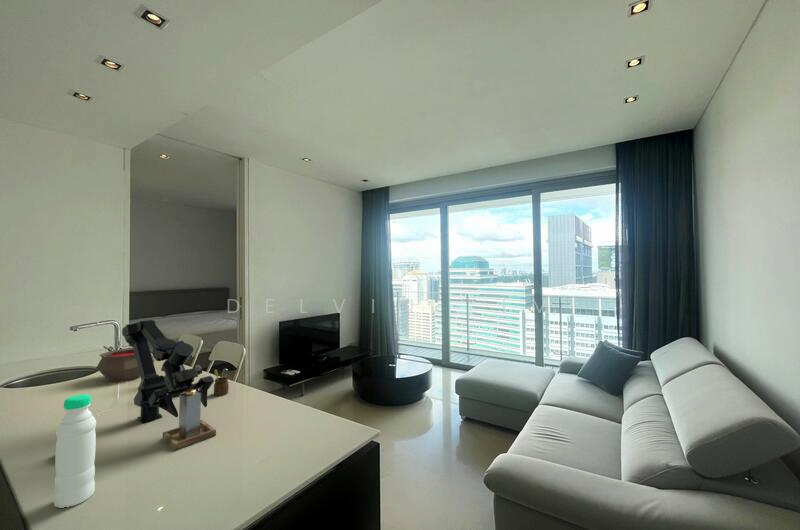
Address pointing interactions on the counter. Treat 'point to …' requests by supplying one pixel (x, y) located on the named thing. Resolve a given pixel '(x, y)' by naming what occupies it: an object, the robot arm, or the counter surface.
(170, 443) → the tray
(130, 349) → the brown pot
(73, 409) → the white milk bottle
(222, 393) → the utensil holder
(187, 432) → the grey tall block
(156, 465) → the counter surface
